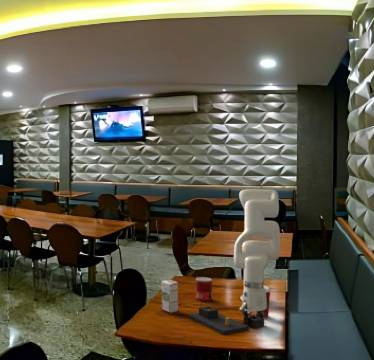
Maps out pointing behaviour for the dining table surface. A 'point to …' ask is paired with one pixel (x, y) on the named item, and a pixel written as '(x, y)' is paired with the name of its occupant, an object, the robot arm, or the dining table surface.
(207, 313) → the pad
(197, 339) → the dining table surface
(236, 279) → the dining table surface
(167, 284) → the syrup box
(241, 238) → the robot arm
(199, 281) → the canned food
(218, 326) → the base mat
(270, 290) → the paper cup
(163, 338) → the dining table surface
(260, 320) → the pad
